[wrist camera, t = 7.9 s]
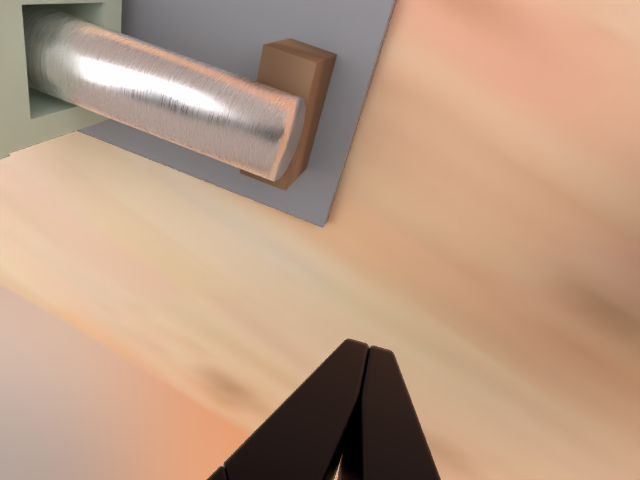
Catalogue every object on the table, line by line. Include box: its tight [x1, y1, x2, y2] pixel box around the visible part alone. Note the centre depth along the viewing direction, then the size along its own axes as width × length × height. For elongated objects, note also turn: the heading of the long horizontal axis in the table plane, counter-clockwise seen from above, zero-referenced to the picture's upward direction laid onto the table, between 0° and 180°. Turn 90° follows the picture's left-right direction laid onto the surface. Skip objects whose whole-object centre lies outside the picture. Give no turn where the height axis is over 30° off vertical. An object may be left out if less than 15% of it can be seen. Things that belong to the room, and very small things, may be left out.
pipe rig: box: [22, 0, 396, 227], centre depth 18 cm, size 21×10×6 cm, turn 77°
